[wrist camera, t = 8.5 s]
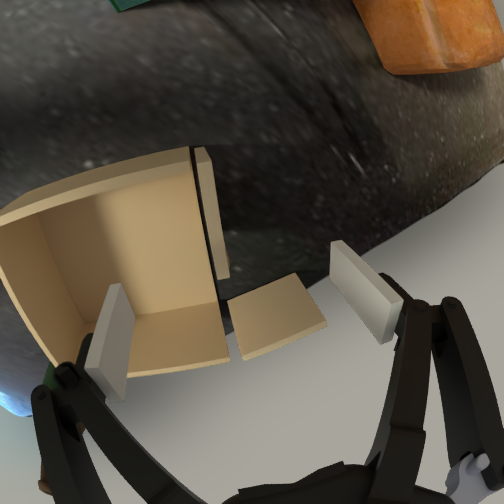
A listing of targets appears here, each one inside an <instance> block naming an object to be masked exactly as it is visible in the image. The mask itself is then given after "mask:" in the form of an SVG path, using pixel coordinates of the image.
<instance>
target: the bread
mask: <svg viewBox="0 0 504 504" xmlns="http://www.w3.org/2000/svg"><path fill="white" fill-rule="evenodd" d="M352 1H353V3H354V5H355V7H356V9H357V11H358V13H359V15H360V17H361V19H362V21H363V23H364V25H365V27H366V29H367V31H368V33H369V35H370V37H371V40H372V42H373V44H374V46H375V48H376V51H377V53H378V55H379V58H380V60H381V62H382V64H383V67H384V68H385V69H386V70H387V71H388V72H390V73H391V74H393V75H415V74H430V73H450V72H456V71H462V70H467V69H470V68H478V67H484V66H489V65H491V64H493V63H497V62H500V61H501V60H502V59H503V58H504V34H503V31H502V27H501V24H500V21H499V18H498V16H497V13H496V10H495V7H494V5H493V2H492V0H352Z"/></svg>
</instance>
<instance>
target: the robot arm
mask: <svg viewBox="0 0 504 504" xmlns="http://www.w3.org/2000/svg"><path fill="white" fill-rule="evenodd" d="M329 278H330V280H331V281H332V282H333V283H334V285H335V286H336V287H337V288H338V290H339V291H340V292H341V294H342V295H343V296H344V297H345V299H346V300H347V301H348V303H349V304H350V305H351V307H352V308H353V309H354V310H355V312H356V313H357V314H358V315H359V317H360V318H361V320H362V321H363V322H364V324H365V325H366V326H367V328H368V329H369V330H370V332H371V333H372V334H373V336H374V337H375V338H376V340H377V341H378V342H379V344H380V345H381V344H384V343H386V342H389V341H391V340H392V338H393V335H394V332H395V333H396V334H397V336H398V339H397V343H396V345H395V348H394V351H395V356H394V362H393V367H392V372H391V377H390V382H389V386H388V391H387V395H386V400H385V404H384V408H383V411H382V415H381V419H380V423H379V426H378V430H377V433H376V436H375V439H374V443H373V446H372V449H371V451H370V453H369V455H368V457H367V459H366V462H365V464H364V465H357V464H349V465H344V463H343V461H341V462H338V463H335V464H333V465H330V466H327V467H324V468H321V469H318V470H317V471H315V472H313V473H311V474H310V475H308V476H306V477H305V478H303V479H301V480H299V481H297V482H295V483H291V484H264V485H258V486H253V487H248V488H242V489H238V491H239V494H236V495H235V496H232V497H230V498H229V499H227V500H226V501H224V502H223V503H222V504H478V503H479V502H480V501H482V500H483V499H484V498H486V497H487V496H489V495H491V494H493V493H495V492H497V491H498V490H500V489H502V488H504V428H503V425H502V421H501V416H500V412H499V407H498V403H497V399H496V396H495V392H494V388H493V385H492V381H491V378H490V375H489V371H488V369H487V365H486V362H485V360H484V357H483V354H482V351H481V348H480V346H479V343H478V340H477V338H476V335H475V333H474V330H473V328H472V325H471V323H470V321H469V318H468V316H467V314H466V311H465V309H464V307H463V305H462V303H461V302H460V301H459V300H458V299H457V298H454V297H449V296H448V297H445V298H443V300H442V302H441V305H433V306H430V305H429V304H428V303H427V302H425V301H423V300H419V299H415V300H414V299H413V298H412V297H411V296H410V295H409V294H408V293H407V292H406V291H405V290H404V289H403V288H402V287H400V285H399V284H398V283H396V282H395V281H394V280H393V279H392V278H391V277H390V276H388V275H386V274H384V273H379V274H377V273H376V272H375V271H374V270H373V269H372V268H371V267H370V266H369V265H368V264H367V263H366V262H365V261H364V260H363V259H362V258H361V257H359V256H358V255H357V254H356V253H355V252H354V251H353V250H352V249H351V248H350V247H349V246H348V245H347V244H345V243H344V242H343V241H342V240H338V241H333V242H331V255H330V276H329ZM135 318H136V317H135V315H134V313H133V310H132V308H131V306H130V303H129V301H128V298H127V296H126V294H125V291H124V289H123V286H122V284H121V283H117V284H111V285H110V287H109V289H108V292H107V295H106V298H105V301H104V303H103V306H102V309H101V312H100V315H99V318H98V322H97V325H96V328H95V331H94V333H87V335H86V336H85V337H84V339H83V340H82V343H81V346H80V350H79V354H78V356H77V360H76V363H75V365H74V364H73V363H72V362H69V361H66V362H62V363H61V364H59V365H58V366H57V367H56V368H55V370H54V372H53V379H54V380H55V382H56V383H57V384H58V385H59V386H60V387H58V388H55V389H52V390H51V389H50V388H49V387H48V386H47V385H44V384H42V385H39V386H37V387H36V388H35V389H34V390H33V391H32V394H31V405H32V412H33V419H34V425H35V430H36V436H37V441H38V446H39V450H40V454H41V459H42V463H43V466H44V470H45V474H46V477H47V480H48V484H49V487H50V490H51V493H52V496H53V498H54V501H55V504H112V503H111V501H110V499H109V498H108V496H107V493H106V491H105V489H104V488H103V485H102V483H101V481H100V478H99V476H98V474H97V472H96V469H95V467H94V465H93V462H92V460H91V457H90V455H89V452H88V449H87V447H86V444H85V441H84V438H83V435H82V432H81V429H80V426H79V423H80V422H82V423H83V424H84V426H85V428H86V429H87V430H88V432H89V433H90V434H91V436H92V438H93V439H94V441H95V442H96V443H97V445H98V446H99V447H100V449H101V450H102V451H103V453H104V454H105V455H106V456H107V458H108V459H109V460H110V462H111V463H112V464H113V466H114V467H115V468H116V469H117V470H118V471H119V473H120V474H121V475H122V476H123V477H124V479H125V480H126V481H127V482H128V483H129V484H130V485H131V486H132V487H133V489H134V490H135V491H136V492H137V493H138V494H139V495H140V496H141V497H142V498H143V499H144V500H145V501H146V502H147V504H208V503H206V502H205V501H203V500H202V499H200V498H199V497H198V496H197V495H195V494H194V493H193V492H191V491H190V490H189V489H188V488H187V487H185V486H184V485H183V484H182V483H181V482H179V481H178V480H177V479H176V478H175V477H174V476H173V475H172V474H170V473H169V472H168V471H167V470H166V469H165V468H164V467H163V466H162V465H161V464H160V463H158V461H156V460H155V459H154V458H153V457H152V456H151V455H150V454H149V453H148V452H147V451H146V450H145V449H144V448H143V446H141V444H140V443H139V442H138V441H137V440H136V439H135V438H134V437H133V436H132V435H131V434H130V432H128V430H127V429H126V428H125V427H124V426H123V425H122V423H121V422H120V421H119V420H118V419H117V418H116V416H115V415H114V414H113V413H112V411H111V410H110V409H109V408H108V407H107V405H106V404H105V398H107V399H108V400H109V401H110V402H111V403H120V402H124V399H125V388H126V380H127V371H128V363H129V356H130V349H131V342H132V336H133V330H134V324H135ZM431 351H432V355H433V359H434V364H435V369H436V373H437V378H438V383H439V389H440V394H441V400H442V407H443V413H444V421H445V430H446V439H447V451H448V458H449V463H450V467H451V470H450V471H449V473H448V476H447V480H446V482H445V485H446V487H447V492H446V494H442V493H439V492H436V491H433V490H430V489H427V488H424V487H421V486H418V485H415V482H416V478H417V475H418V471H419V467H420V463H421V458H422V454H423V449H424V444H425V439H426V431H424V430H423V423H424V418H425V411H426V404H427V396H428V386H429V376H430V361H431Z"/></svg>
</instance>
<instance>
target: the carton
mask: <svg viewBox="0 0 504 504" xmlns="http://www.w3.org/2000/svg"><path fill="white" fill-rule="evenodd" d="M0 278H1V280H2V282H3V284H4V286H5V288H6V290H7V292H8V294H9V296H10V297H11V299H12V301H13V303H14V305H15V307H16V308H17V310H18V312H19V314H20V315H21V317H22V319H23V320H24V322H25V324H26V325H27V327H28V328H29V330H30V332H31V333H32V335H33V336H34V338H35V339H36V341H37V342H38V344H39V345H40V347H41V348H42V350H43V351H44V352H45V354H46V355H47V357H48V358H49V359H50V361H51V362H52V363H53V365H54V366H55V367H57V366H58V365H59V364H61V363H62V362H66V361H69V362H72V363H73V364H74V365H75V363H76V360H77V356H78V354H79V350H80V346H81V343H82V340H83V339H84V337H85V336H86V335H87V333H94V331H95V328H96V325H97V322H98V318H99V315H100V312H101V309H102V306H103V303H104V301H105V298H106V295H107V292H108V289H109V287H110V285H111V284H117V283H121V284H122V286H123V289H124V291H125V294H126V296H127V298H128V301H129V303H130V306H131V308H132V310H133V313H134V315H135V317H136V318H135V324H134V330H133V336H132V342H131V349H130V356H129V363H128V371H127V378H130V377H139V376H147V375H155V374H163V373H170V372H176V371H183V370H189V369H195V368H201V367H206V366H212V365H217V364H222V363H227V362H231V361H230V357H229V352H228V347H227V343H226V338H225V333H224V329H223V324H222V319H221V314H220V309H219V304H218V300H217V295H216V291H215V286H214V281H213V277H212V272H211V267H210V262H209V257H208V252H207V247H206V242H205V237H204V232H203V227H202V221H201V216H200V210H199V205H198V199H197V194H196V188H195V182H194V176H193V170H192V164H191V158H190V151H189V146H186V147H181V148H176V149H171V150H166V151H162V152H157V153H153V154H148V155H144V156H140V157H136V158H132V159H128V160H124V161H120V162H117V163H113V164H109V165H106V166H102V167H99V168H95V169H92V170H89V171H86V172H82V173H79V174H76V175H73V176H70V177H67V178H64V179H61V180H58V181H56V182H53V183H50V184H47V185H45V186H42V187H39V188H37V189H34V190H32V191H29V192H27V193H25V194H24V195H22V196H20V197H19V198H17V199H16V200H14V201H13V202H11V203H10V204H8V205H7V206H5V207H4V208H3V209H1V210H0Z"/></svg>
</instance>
